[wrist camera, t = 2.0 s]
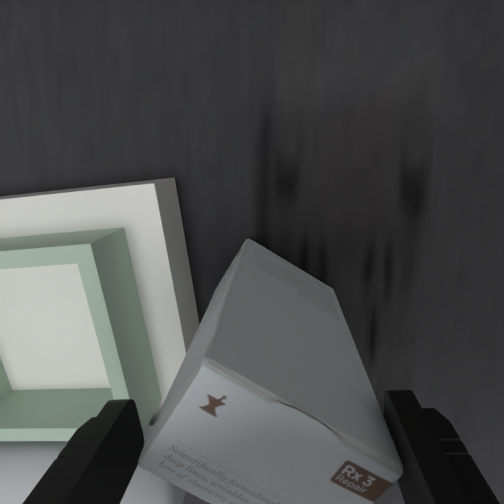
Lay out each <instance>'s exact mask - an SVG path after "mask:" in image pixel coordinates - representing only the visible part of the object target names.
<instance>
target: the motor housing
mask: <svg viewBox="0 0 504 504" xmlns="http://www.w3.org/2000/svg"><path fill="white" fill-rule="evenodd" d="M121 227H124V230H125V234H126V239H127V243H128V248H129V252H130V257H131V261H132V266H133V271H134V275H135V280H136V284H137V289H138V293H139V298H140V302H141V307H142V311H143V316H144V321H145V325H146V330H147V334H148V339H149V343H150V348H151V352H152V357H153V361H154V366H155V371H156V375H157V380H158V384H159V389H160V393H161V398H162V399H161V401H160V403H159V405H158V407H157V409H156V411H155V413H154V414H153V416H152V418H151V420H150V422H149V424H148V426H147V428H146V430H145V432H144V434H143V435H144V445H145V442H146V440H147V438H148V436H149V434H150V431H151V430H152V428H153V426H154V424H155V422H156V420H157V418H158V416H159V414H160V412H161V410H162V407H163V404H164V402H165V399H166V397H167V395H168V393H169V390H170V388H171V386H172V384H173V382H174V380H175V377H176V375H177V373H178V371H179V369H180V367H181V364H182V362H183V360H184V358H185V356H186V354H187V351H188V349H189V347H190V345H191V343H192V340H193V338H194V336H195V334H196V332H197V329H198V327H199V325H200V324H199V318H198V312H197V306H196V300H195V294H194V288H193V283H192V277H191V271H190V265H189V259H188V253H187V247H186V242H185V236H184V230H183V224H182V218H181V212H180V206H179V200H178V195H177V189H176V183H175V178H166V179H157V180H148V181H138V182H129V183H120V184H111V185H101V186H92V187H83V188H73V189H64V190H55V191H46V192H36V193H27V194H18V195H9V196H0V238H9V237H20V236H32V235H43V234H54V233H65V232H76V231H87V230H99V229H110V228H121ZM0 358H1V360H2V363H3V366H4V369H5V371H6V374H7V377H8V380H9V382H10V385H11V388H12V390H42V389H85V388H110V384H109V380H108V377H107V373H106V369H105V365H104V362H103V358H102V354H101V350H100V347H99V343H98V339H97V336H96V332H95V328H94V324H93V321H92V317H91V313H90V309H89V306H88V302H87V298H86V294H85V291H84V287H83V283H82V279H81V276H80V272H79V268H78V264H64V265H51V266H38V267H24V268H11V269H0ZM67 442H68V441H0V504H22V503H23V502H24V501H25V499H26V498H27V497H28V495H29V494H30V493H31V491H32V490H33V489H34V487H35V486H36V484H37V483H38V482H39V480H40V479H41V478H42V476H43V475H44V474H45V472H46V471H47V470H48V468H49V467H50V465H51V464H52V463H53V461H54V460H55V459H57V457H58V455H59V453H60V452H61V451H62V449H63V448H64V447H66V444H67ZM184 496H185V490H184V489H182V488H180V487H178V486H176V485H174V484H172V483H170V482H168V481H167V480H165V479H163V478H161V477H159V476H157V475H155V474H153V473H151V472H149V471H147V470H145V469H143V468H141V467H139V464H138V466H137V468H136V470H135V472H134V474H133V476H132V479H131V481H130V483H129V485H128V487H127V489H126V492H125V494H124V496H123V498H122V500H121V502H120V504H183V501H184Z"/></svg>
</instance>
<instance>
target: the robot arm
mask: <svg viewBox="0 0 504 504" xmlns="http://www.w3.org/2000/svg"><path fill="white" fill-rule="evenodd" d="M384 419H385V422H386V424H387V427H388V429H389V432H390V435H391V437H392V439H393V442H394V444H395V447H396V450H397V453H398V455H399V457H400V460H401V462H402V465H403V474H402V475H401V477H400V478H399V479H398V480H397V481H398V484H399V487H400V490H401V493H402V496H403V499H404V501H405V504H500V503H499V502H498V500H497V499H496V497H495V495H494V494H493V492H492V490H491V489H490V487H489V485H488V484H487V482H486V480H485V479H484V477H483V475H482V474H481V472H480V470H479V469H478V467H477V466H476V464H475V462H474V461H473V459H472V457H471V456H470V455H469V454H468V451H467V449H466V447H465V446H464V444H463V442H462V441H460V437H459V436H458V434H457V433H456V431H455V429H454V428H453V426H452V424H451V423H450V421H449V420H447V419H446V418H445V417H444V416H443V415H442V414H440V413H439V412H438V411H437V410H436V409H434V408H421V406H420V404H419V402H418V400H417V399H416V397H415V395H414V393H413V392H412V391H411V390H398V391H385V393H384ZM143 447H144V435H143V431H142V427H141V423H140V419H139V414H138V410H137V406H136V403H135V401H134V400H133V399H116V400H109V401H108V402H107V403H106V404H105V405H104V407H103V408H102V410H101V411H100V412H99V414H98V415H97V417H91V418H90V419H89V420H88V421H87V422H85V423H84V424H83V425H82V426H81V427H79V428H78V429H77V430H76V432H75V433H74V434H73V436H72V437H71V438H70V440H69V441H68V442H67V444H66V447H64V448H63V449H62V451H61V452H60V453H59V455H58V457H57V459H55V460H54V461H53V463H52V464H51V465H50V467H49V468H48V470H47V471H46V472H45V474H44V475H43V476H42V478H41V479H40V480H39V482H38V483H37V484H36V486H35V487H34V489H33V490H32V491H31V493H30V494H29V495H28V497H27V498H26V499H25V501H24V502H23V503H22V504H120V502H121V500H122V498H123V496H124V494H125V492H126V489H127V487H128V485H129V483H130V481H131V479H132V476H133V474H134V472H135V470H136V468H137V466H138V461H139V457H140V455H141V452H142V450H143Z"/></svg>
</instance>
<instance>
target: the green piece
mask: <svg viewBox="0 0 504 504" xmlns="http://www.w3.org/2000/svg"><path fill="white" fill-rule="evenodd" d="M64 264H78V268H79V272H80V276H81V279H82V283H83V287H84V291H85V294H86V298H87V302H88V306H89V309H90V313H91V317H92V321H93V324H94V328H95V332H96V336H97V339H98V343H99V347H100V350H101V354H102V358H103V362H104V365H105V369H106V373H107V377H108V380H109V384H110V388H85V389H42V390H12V388H11V385H10V382H9V380H8V377H7V374H6V371H5V369H4V366H3V363H2V360H1V358H0V441H69V440H70V438H71V437H72V436H73V434H74V433H75V432H76V430H77V429H78V428H79V427H81V426H82V425H83V424H84V423H85V422H87V421H88V420H89V419H90V418H91V417H97V415H98V414H99V412H100V411H101V410H102V408H103V407H104V405H105V404H106V403H107V402H108V401H109V400H116V399H133V400H134V401H135V403H136V406H137V410H138V414H139V419H140V423H141V427H142V431H143V434H144V432H145V430H146V428H147V426H148V424H149V422H150V420H151V418H152V416H153V414H154V413H155V411H156V409H157V407H158V405H159V403H160V401H161V399H162V398H161V393H160V389H159V384H158V380H157V375H156V371H155V366H154V361H153V357H152V352H151V348H150V343H149V339H148V334H147V330H146V325H145V321H144V316H143V311H142V307H141V302H140V298H139V293H138V289H137V284H136V280H135V275H134V271H133V266H132V261H131V257H130V252H129V248H128V243H127V239H126V234H125V230H124V227H121V228H110V229H99V230H87V231H76V232H65V233H54V234H43V235H32V236H20V237H9V238H0V269H11V268H24V267H38V266H51V265H64Z"/></svg>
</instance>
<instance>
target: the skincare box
mask: <svg viewBox="0 0 504 504" xmlns="http://www.w3.org/2000/svg"><path fill="white" fill-rule="evenodd" d="M138 464H139V467H141V468H143V469H145V470H147V471H149V472H151V473H153V474H155V475H157V476H159V477H161V478H163V479H165V480H167V481H168V482H170V483H172V484H174V485H176V486H178V487H180V488H182V489H184V490H186V491H188V492H189V493H191V494H193V495H195V496H197V497H199V498H201V499H203V500H205V501H207V502H208V503H210V504H373V503H374V502H375V501H376V500H377V499H378V498H379V497H380V496H381V495H382V494H383V493H384V492H385V491H386V490H387V489H388V488H389V487H390V486H391V485H392V484H393V483H394V482H395V481H397V480H398V479H399V478H400V477H401V475H402V474H403V465H402V462H401V460H400V457H399V455H398V453H397V450H396V447H395V444H394V442H393V439H392V437H391V435H390V432H389V429H388V427H387V424H386V422H385V419H384V417H383V414H382V411H381V409H380V406H379V404H378V402H377V399H376V397H375V394H374V391H373V389H372V386H371V384H370V381H369V379H368V376H367V374H366V371H365V369H364V366H363V363H362V361H361V358H360V356H359V353H358V351H357V348H356V346H355V343H354V341H353V338H352V335H351V333H350V330H349V328H348V325H347V323H346V320H345V318H344V315H343V313H342V310H341V307H340V305H339V302H338V300H337V297H336V294H335V292H334V290H333V289H332V288H331V287H329V286H328V285H326V284H324V283H322V282H321V281H319V280H318V279H316V278H314V277H313V276H311V275H309V274H308V273H306V272H304V271H303V270H301V269H299V268H298V267H296V266H294V265H293V264H291V263H289V262H288V261H286V260H284V259H283V258H281V257H279V256H278V255H276V254H274V253H273V252H271V251H269V250H268V249H266V248H265V247H263V246H261V245H260V244H258V243H256V242H255V241H253V240H251V239H246V240H245V242H244V244H243V245H242V247H241V248H240V250H239V252H238V253H237V255H236V256H235V258H234V260H233V261H232V263H231V264H230V266H229V268H228V269H227V271H226V273H225V274H224V276H223V277H222V279H221V281H220V283H219V284H218V286H217V288H216V289H215V292H214V294H213V297H212V299H211V301H210V304H209V306H208V308H207V310H206V312H205V314H204V317H203V319H202V321H201V323H200V325H199V327H198V329H197V332H196V334H195V336H194V338H193V340H192V343H191V345H190V347H189V349H188V351H187V354H186V356H185V358H184V360H183V362H182V364H181V367H180V369H179V371H178V373H177V375H176V377H175V380H174V382H173V384H172V386H171V388H170V390H169V393H168V395H167V397H166V399H165V402H164V404H163V407H162V410H161V412H160V414H159V416H158V418H157V420H156V422H155V424H154V426H153V428H152V430H151V431H150V434H149V436H148V438H147V440H146V442H145V445H144V447H143V450H142V452H141V455H140V457H139V461H138Z"/></svg>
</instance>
